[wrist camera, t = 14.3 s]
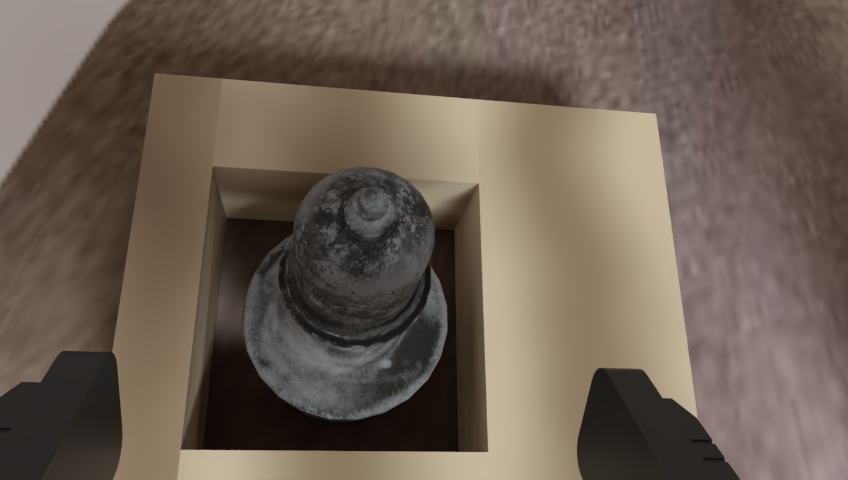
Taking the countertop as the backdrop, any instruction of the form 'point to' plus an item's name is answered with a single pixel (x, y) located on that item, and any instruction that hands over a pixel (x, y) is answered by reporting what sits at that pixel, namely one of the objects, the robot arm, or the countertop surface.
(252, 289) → the grey tall knobbed piece
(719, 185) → the countertop surface
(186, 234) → the jig
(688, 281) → the countertop surface
